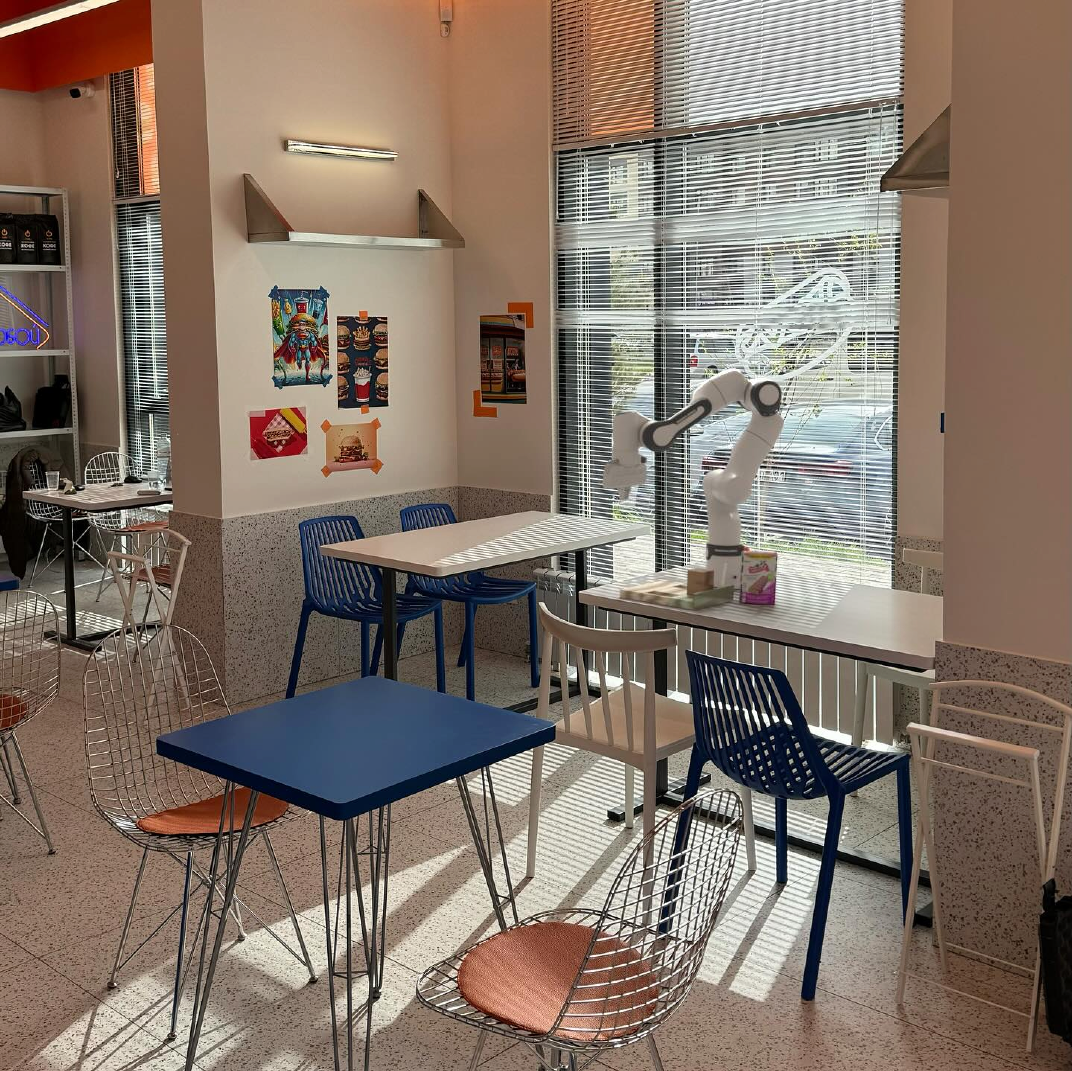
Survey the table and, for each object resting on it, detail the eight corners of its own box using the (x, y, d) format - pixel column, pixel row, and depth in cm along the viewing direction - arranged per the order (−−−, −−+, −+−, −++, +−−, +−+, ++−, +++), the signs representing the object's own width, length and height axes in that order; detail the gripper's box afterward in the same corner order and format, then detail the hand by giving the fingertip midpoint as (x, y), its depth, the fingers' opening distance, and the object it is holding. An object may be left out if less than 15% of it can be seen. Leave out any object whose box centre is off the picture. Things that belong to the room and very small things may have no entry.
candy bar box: (739, 604, 394) (741, 552, 391) (738, 601, 399) (740, 550, 396) (775, 605, 393) (778, 553, 390) (774, 602, 397) (776, 551, 395)
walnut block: (697, 592, 398) (698, 567, 397) (713, 595, 394) (714, 570, 393) (686, 594, 394) (687, 570, 393) (702, 597, 390) (703, 572, 389)
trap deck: (619, 597, 402) (620, 581, 401) (659, 588, 418) (659, 573, 417) (695, 610, 383) (696, 594, 382) (733, 600, 399) (734, 584, 399)
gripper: (613, 461, 406) (612, 503, 408) (650, 457, 421) (649, 498, 423) (598, 460, 410) (597, 501, 412) (635, 456, 426) (634, 497, 427)
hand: (624, 500), depth 418 cm, fingers closed
